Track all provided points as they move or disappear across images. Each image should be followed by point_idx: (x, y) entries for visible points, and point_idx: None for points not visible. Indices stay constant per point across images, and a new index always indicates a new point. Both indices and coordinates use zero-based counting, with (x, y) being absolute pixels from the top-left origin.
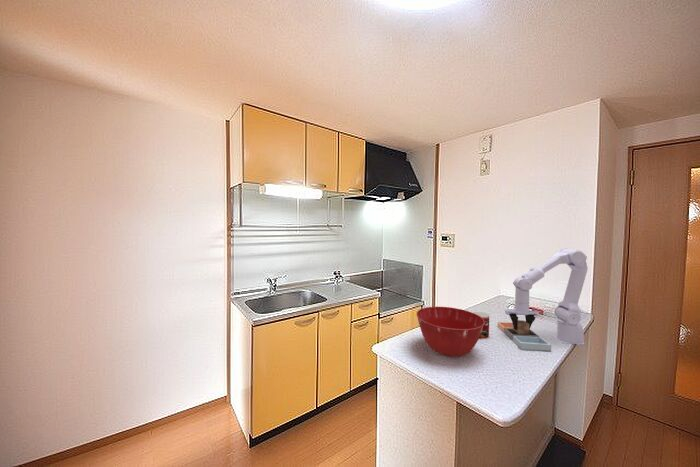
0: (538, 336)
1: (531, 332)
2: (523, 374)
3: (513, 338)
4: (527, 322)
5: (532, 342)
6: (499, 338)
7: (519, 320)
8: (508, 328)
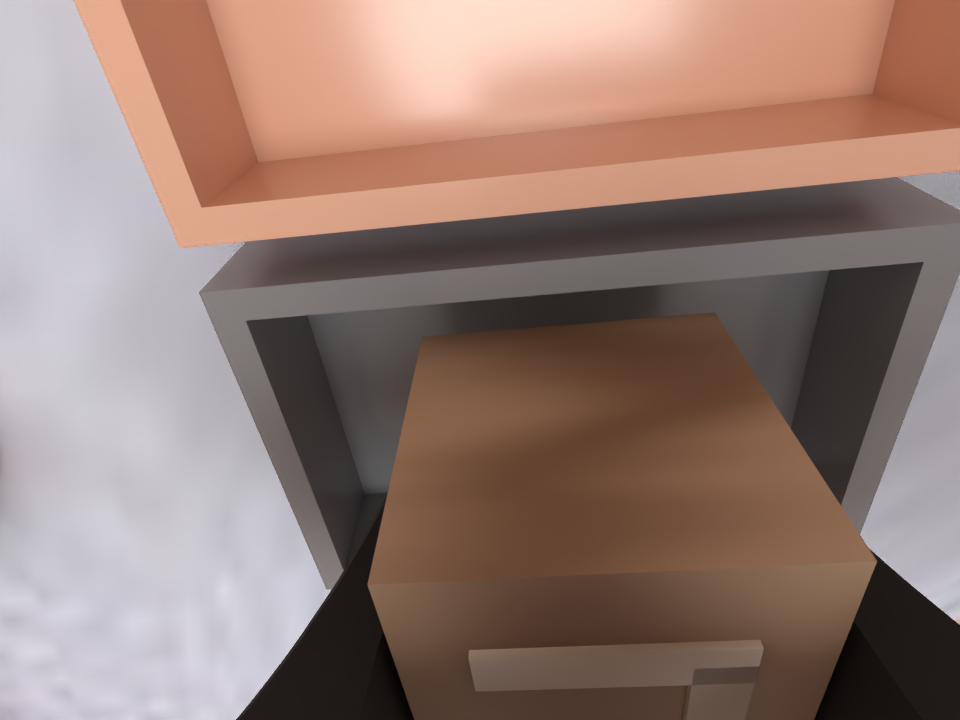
0: None
1: (876, 321)
2: None
3: None
4: (833, 712)
5: None
6: (168, 445)
7: (633, 588)
8: (316, 228)
